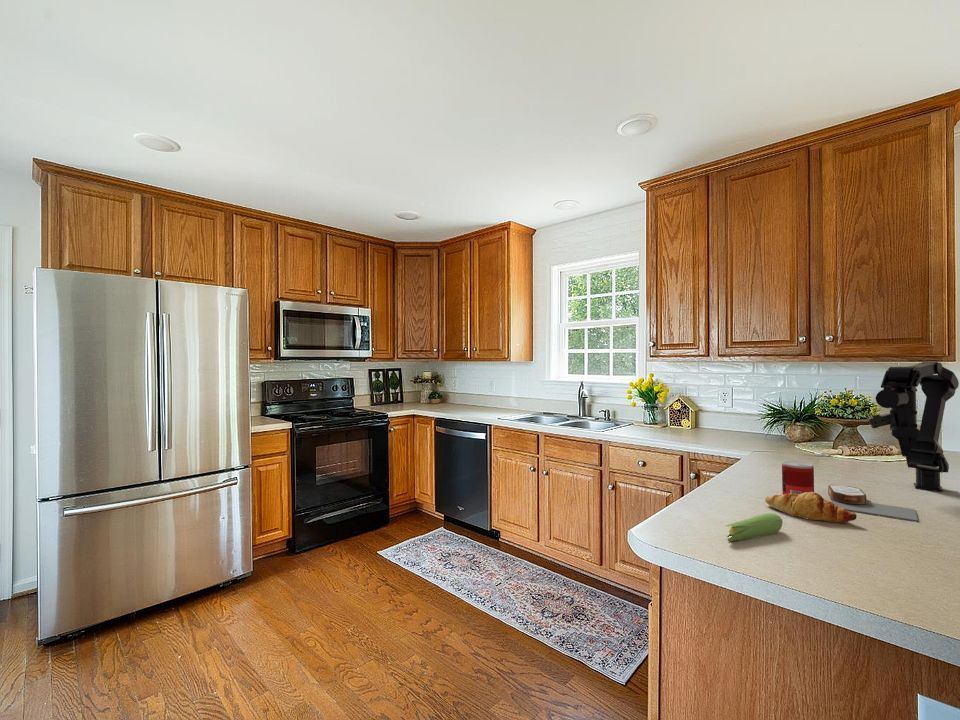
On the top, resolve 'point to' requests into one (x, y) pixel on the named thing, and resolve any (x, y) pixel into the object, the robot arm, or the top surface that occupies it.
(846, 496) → the tin
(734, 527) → the edible corn
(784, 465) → the canned food
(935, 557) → the top surface
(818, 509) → the croissant
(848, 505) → the mat
